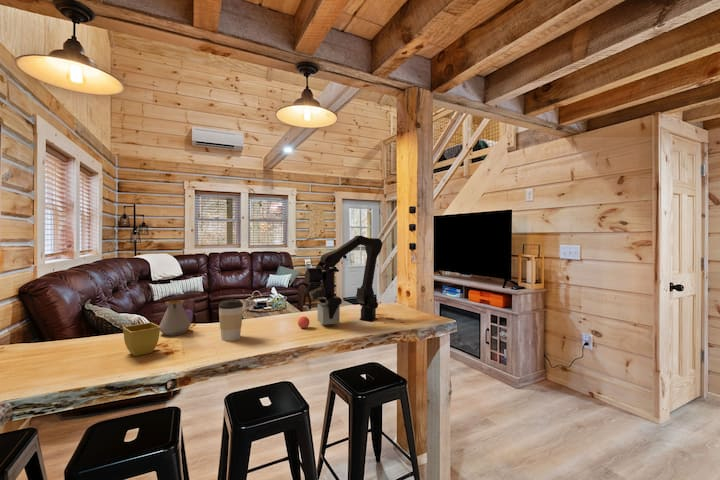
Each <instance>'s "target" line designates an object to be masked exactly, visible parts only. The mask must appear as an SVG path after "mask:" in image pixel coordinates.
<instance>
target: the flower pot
mask: <svg viewBox="0 0 720 480" xmlns="http://www.w3.org/2000/svg"><path fill="white" fill-rule="evenodd" d="M122 333H123V339H124V344H125V346H126V349H127V350H128V351H129V353H130V354H131V355H133V356H134V357H138V356H141V355H147V354H151V353H153V352H154V350H155V349H156V347H157V345H158V343H159V340H160V339H159V338H160V333H161V331H160V326H159V325H158V324H156V323H154V322H145V323H140V324H133V325H132V324H131V325H127V326H122Z"/></svg>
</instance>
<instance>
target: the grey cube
mask: <svg viewBox="0 0 720 480" xmlns="http://www.w3.org/2000/svg"><path fill="white" fill-rule="evenodd" d="M325 304H326V303H321V302H319V303H317V321H318V322H319V324H321V325H322V326H325V325H327V326H328V325H333V324H340V319H341V318H340V316H341V315H340V313H341V311H340V308H341V306H340V305H339V306H338V308H337V310H336V312H335V314H334V316H333V318H332V319H330V317H329V310H328V307H327V306H326V305H325Z"/></svg>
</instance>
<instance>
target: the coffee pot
mask: <svg viewBox="0 0 720 480" xmlns="http://www.w3.org/2000/svg"><path fill="white" fill-rule="evenodd" d="M184 302H185V301H184V300H183V299H173V300H169V301H168V300H167V301H165V302H164V304H165V305H166V306H167V308H166V311H165V312H164V315H163V317H162V319H161V321H160V323H159V325H158V326H160V333H162V334H163V335H165V336H170V337H171V336H178V335H182V334H185V333H186V332H187V331H188V330H189V329H190V327H191V324H192V323H191V322H190V319H189V318H188V315H187V313H186V311H185V309H184V307H183V303H184Z"/></svg>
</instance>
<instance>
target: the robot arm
mask: <svg viewBox="0 0 720 480" xmlns="http://www.w3.org/2000/svg"><path fill="white" fill-rule="evenodd" d="M359 246H364V247H365V253H366V259H365V267H364V273H363V279H362V284H361V286H360V287H357V289H356V294H355V296H356V300H357V302H358V303H359V305H360V307H361V308H360V318H359V320H361V321H366V322H374V321H375V320H378V317H376V316H377V314H376V313H377V309H378V306H379V302H377V301H376V300H375V292H374V291H375V290H374V288H373V284H374V278H375V271H376V265H377V258H378V256H379V254H380V253H381V251H382V248H383V242H382V240H381V239H380V238H377V237H375V238H374V237H373V238H372V237H367V236H364V235H355V236H354V237H353V238H352V239H350V240H348V241H347V242H346V243H344V244H342V245H341V246H339V247H338V248H336V249H335V250H331V251H329V252H326V253H324V254H322V255H321V256H320V260H319V262H318V263H317V264H316V266H315V267H306V271H305V274H304V280H305V283H306V285H307V284H317V283H319V287H318V288H315V289H313V290H310V291H309V292H308V294H309V297H310V300H312V301H316V300H317V301H319V303H326V304H325V305H326V306H327V307H328V310H329V317H330V319H332V318H333V316H334V314H335V312H336V310H337V308H338V306H340V305H342V303H343V299H342V298H341V297H339V296H338V295H337V293H335V289H336V287H337V284H336V283H335V281H336V279H335V278H336V277H335V276H336V275H335V274H336V273H339V272H340V269H338V268H337V264H339V263H340V261H341V259H342V258H343V257H345V256H347V254H349V253H351V252H352V251H354V249H357V248H358V247H359Z"/></svg>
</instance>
